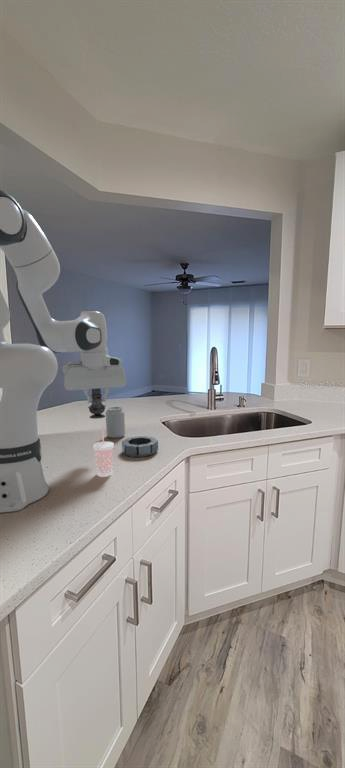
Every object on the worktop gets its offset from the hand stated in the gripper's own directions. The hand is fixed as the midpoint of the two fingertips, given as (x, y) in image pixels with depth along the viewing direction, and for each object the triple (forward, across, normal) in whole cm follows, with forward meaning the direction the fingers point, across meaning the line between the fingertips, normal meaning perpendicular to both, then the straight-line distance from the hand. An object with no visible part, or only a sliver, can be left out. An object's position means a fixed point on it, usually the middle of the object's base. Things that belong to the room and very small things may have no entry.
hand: (96, 401), depth 114 cm
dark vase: (+5, 0, 0) cm, 5 cm away
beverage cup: (+19, -1, -17) cm, 26 cm away
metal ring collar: (+19, +14, -2) cm, 24 cm away
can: (+19, +10, +21) cm, 30 cm away
